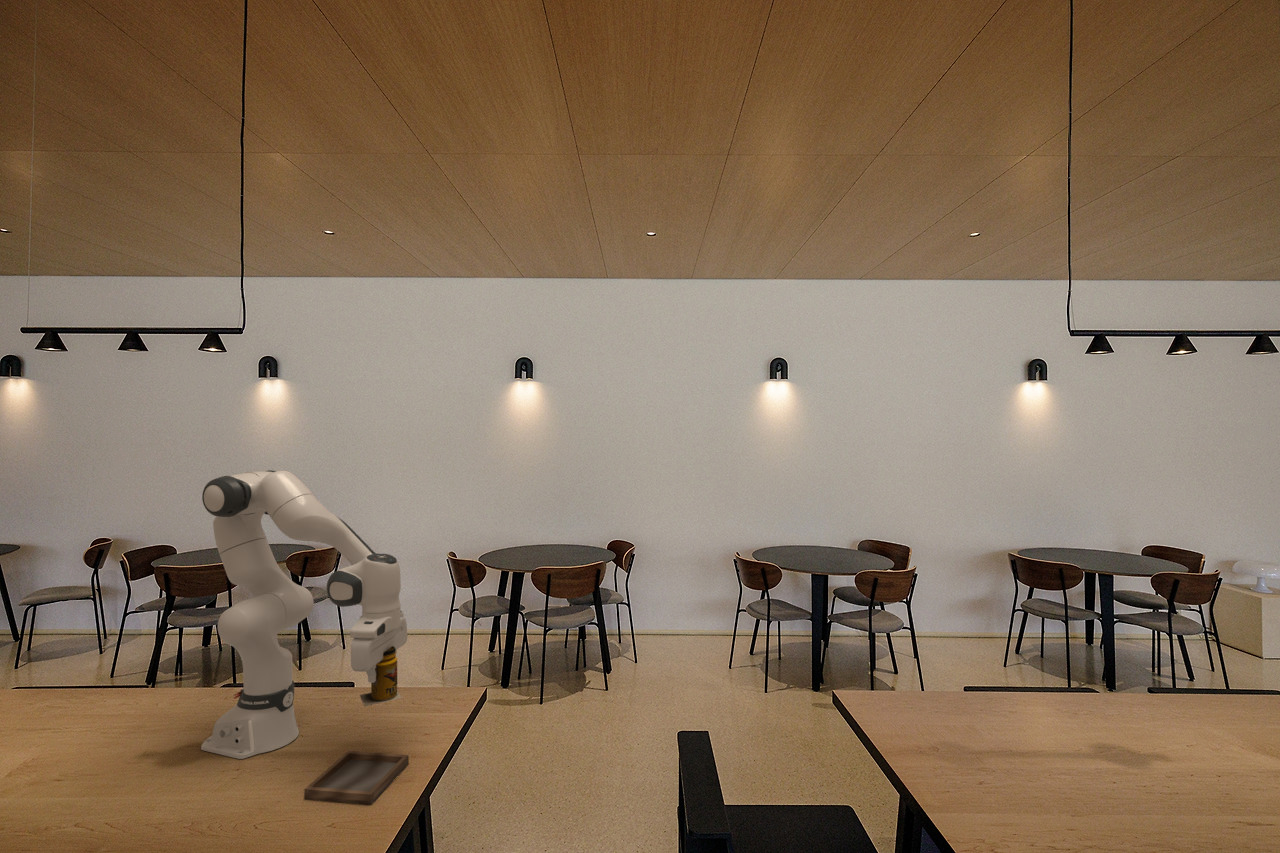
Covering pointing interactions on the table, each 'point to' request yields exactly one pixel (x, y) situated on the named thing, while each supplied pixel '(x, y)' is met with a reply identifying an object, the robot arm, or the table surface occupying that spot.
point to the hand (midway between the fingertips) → (381, 675)
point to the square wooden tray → (357, 778)
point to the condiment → (384, 680)
